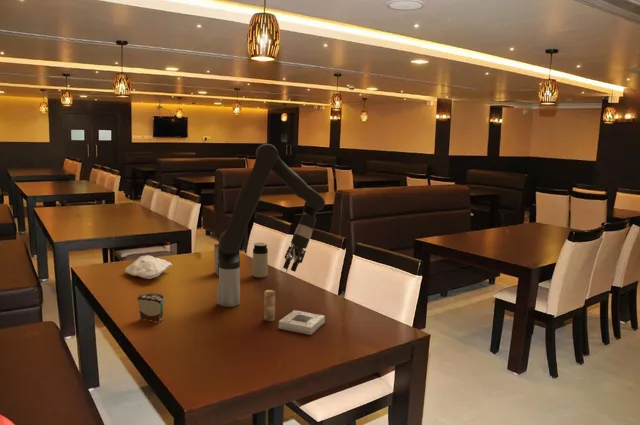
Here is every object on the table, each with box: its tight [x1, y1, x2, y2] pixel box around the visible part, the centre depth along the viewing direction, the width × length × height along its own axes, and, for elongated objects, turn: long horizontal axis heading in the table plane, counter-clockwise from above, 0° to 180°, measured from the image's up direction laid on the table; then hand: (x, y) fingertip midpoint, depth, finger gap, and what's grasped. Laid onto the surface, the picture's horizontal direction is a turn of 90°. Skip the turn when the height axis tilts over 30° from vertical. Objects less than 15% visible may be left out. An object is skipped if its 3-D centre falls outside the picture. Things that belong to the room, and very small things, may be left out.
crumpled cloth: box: [124, 254, 173, 280], centre depth 255 cm, size 24×35×9 cm
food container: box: [136, 292, 166, 323], centre depth 195 cm, size 12×6×10 cm, turn 71°
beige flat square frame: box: [278, 309, 326, 336], centre depth 193 cm, size 14×14×3 cm
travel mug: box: [252, 241, 269, 278], centre depth 259 cm, size 8×8×18 cm
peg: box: [263, 289, 276, 322], centre depth 198 cm, size 4×4×12 cm
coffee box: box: [213, 243, 219, 276], centre depth 263 cm, size 9×6×16 cm
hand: (288, 269), depth 213 cm, fingers open, 8 cm apart
